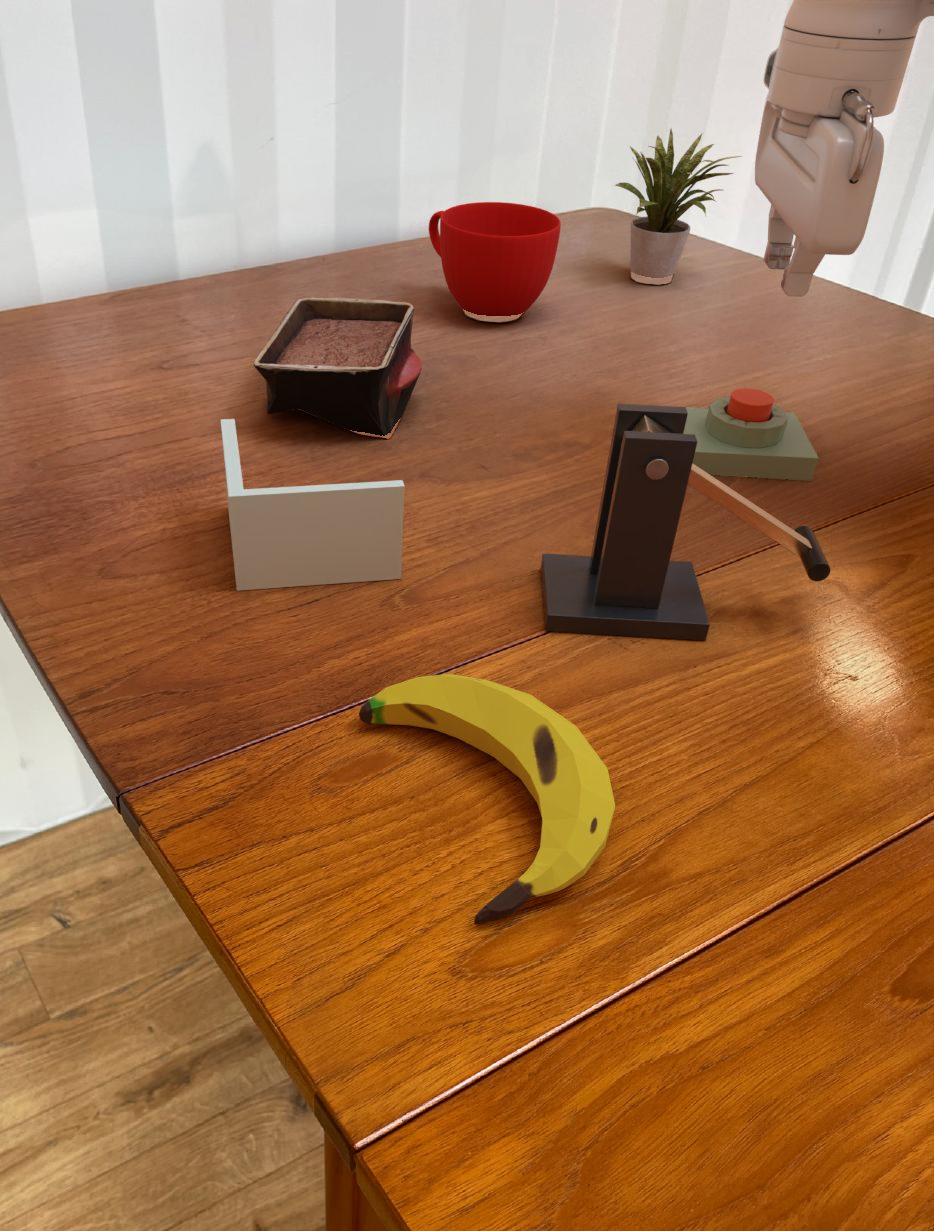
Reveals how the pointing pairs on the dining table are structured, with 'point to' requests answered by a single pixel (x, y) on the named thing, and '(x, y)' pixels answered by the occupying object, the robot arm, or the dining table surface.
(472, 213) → the ceramic cup
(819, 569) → the lever switch
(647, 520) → the hinged bracket stand
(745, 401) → the power button
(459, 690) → the banana
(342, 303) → the baking dish
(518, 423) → the dining table surface
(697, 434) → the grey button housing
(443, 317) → the dining table surface
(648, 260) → the house plant
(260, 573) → the right angle wall
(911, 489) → the dining table surface
